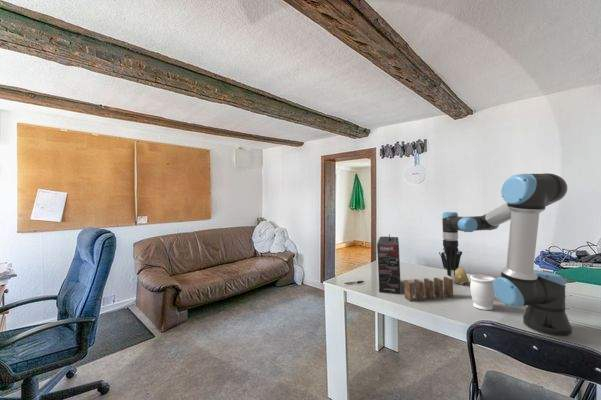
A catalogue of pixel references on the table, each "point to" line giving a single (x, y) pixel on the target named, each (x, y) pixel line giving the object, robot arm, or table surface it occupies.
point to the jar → (482, 291)
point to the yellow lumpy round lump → (460, 276)
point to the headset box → (388, 265)
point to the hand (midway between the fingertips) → (451, 281)
